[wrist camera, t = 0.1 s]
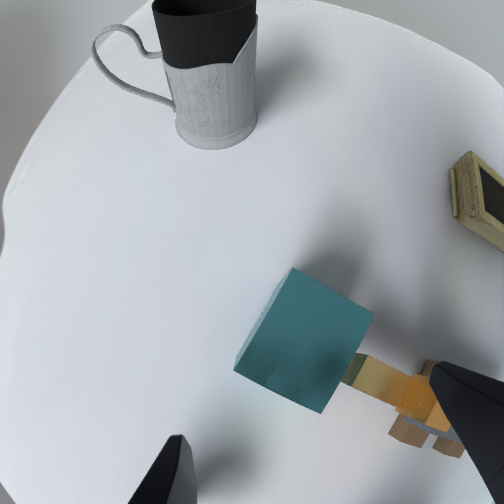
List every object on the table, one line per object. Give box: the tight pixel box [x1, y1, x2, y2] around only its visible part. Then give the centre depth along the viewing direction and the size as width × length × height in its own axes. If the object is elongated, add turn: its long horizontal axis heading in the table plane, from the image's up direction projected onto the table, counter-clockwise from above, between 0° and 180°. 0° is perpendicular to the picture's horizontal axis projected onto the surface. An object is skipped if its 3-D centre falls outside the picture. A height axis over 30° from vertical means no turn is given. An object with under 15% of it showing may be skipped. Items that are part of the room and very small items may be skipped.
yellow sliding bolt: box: [341, 353, 451, 432], centre depth 15 cm, size 19×3×6 cm, turn 60°
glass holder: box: [90, 0, 258, 150], centre depth 21 cm, size 9×14×15 cm, turn 95°
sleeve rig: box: [233, 268, 465, 458], centre depth 19 cm, size 28×8×7 cm, turn 60°
